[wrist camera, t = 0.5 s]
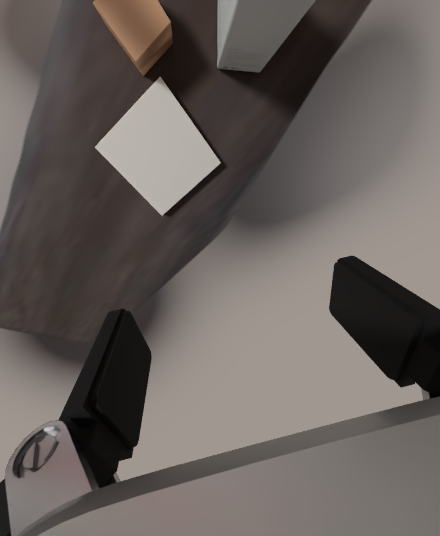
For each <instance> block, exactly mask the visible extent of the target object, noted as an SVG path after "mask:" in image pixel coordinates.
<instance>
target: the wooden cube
mask: <svg viewBox="0 0 440 536" xmlns="http://www.w3.org/2000/svg"><path fill="white" fill-rule="evenodd" d="M93 4H94V6H95V7H96V9H97V11H98V12H99V14H100V16H101V17H102V19H103V20H104V22H105V24H106V25H107V27H108V28H109V30H110V31H111V33H112V34H113V35H114V37H115V38H116V39H117V41H118V42H119V43H120V45H121V46H122V48H123V49H124V50H125V52H126V53H127V54H128V56H129V57H130V58H131V60H132V61H133V63H134V64H135V65H136V67H137V68H138V69H139V71H140V72H141V73H142V75H143V76H144V75H145V74H146V73H147V72H148V70H149V69H150V68H151V67H152V66H153V65H154V64H155V63H156V62H157V60H158V59H159V58H160V57H161V56H162V55H163V54H164V53H165V52H166V51H167V49H168V48H169V47H170V46H171V45H172V44H173V39H172V29H171V21H170V20H169V18H168V16H167V15H166V13H165V12H164V10H163V8H162V7H161V5H160V3H159V2H158V0H95V1H94V2H93Z"/></svg>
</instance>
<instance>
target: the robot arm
mask: <svg viewBox="0 0 440 536" xmlns="http://www.w3.org/2000/svg"><path fill="white" fill-rule="evenodd" d="M329 309H330V312H331V314H332V316H334V318H335V319H336V320H337V321H338V322H339V323H340V324H341V325H342V327H343V328H344V329H345V330H346V331H347V332H348V333H349V335H350V336H351V337H352V338H353V339H354V340H355V341H356V342H357V343H358V345H359V346H360V347H361V348H362V349H363V350H364V351H365V353H366V354H367V355H368V356H369V357H370V358H371V359H372V360H373V361H374V363H375V364H376V365H377V366H378V367H379V368H380V369H381V370H382V372H384V374H385V375H386V376H387V377H388V378H390V379H392V380H394V381H395V382H396V383H397V384H398V385H399V386H400V387H405V386H409V385H413V384H415V382H416V383H417V384H418V385H419V386H420V387H421V389H422V395H423V401H419V402H415V403H411V404H407V405H403V406H399V407H395V408H392V409H388V410H384V411H380V412H377V413H372V414H368V415H365V416H361V417H357V418H353V419H349V420H345V421H341V422H338V423H334V424H330V425H326V426H322V427H319V428H315V429H311V430H308V431H303V432H300V433H296V434H292V435H288V436H285V437H281V438H277V439H273V440H269V441H266V442H262V443H259V444H254V445H251V446H247V447H243V448H239V449H236V450H232V451H229V452H225V453H221V454H217V455H213V456H210V457H206V458H203V459H199V460H195V461H191V462H188V463H184V464H180V465H176V466H173V467H169V468H166V469H162V470H159V471H155V472H152V473H149V474H145V475H142V476H138V477H135V478H131V479H128V480H124V481H120V479H119V478H118V476H117V474H116V471H117V468H118V463H119V461H121V460H125V459H128V458H132V453H133V447H135V446H137V444H138V440H139V434H140V429H141V422H142V416H143V409H144V403H145V396H146V390H147V384H148V376H149V371H150V365H151V351H150V349H149V347H148V345H147V343H146V341H145V339H144V338H143V336H142V334H141V332H140V330H139V328H138V326H137V324H136V322H135V320H134V318H133V316H132V314H131V313H130V311H126V310H125V309H119V310H115V311H110V312H109V313H108V314H107V317H106V319H105V321H104V323H103V325H102V327H101V330H100V332H99V334H98V336H97V338H96V340H95V342H94V345H93V347H92V349H91V351H90V354H89V356H88V358H87V360H86V362H85V364H84V366H83V368H82V371H81V373H80V375H79V377H78V379H77V381H76V384H75V386H74V388H73V390H72V392H71V394H70V396H69V399H68V401H67V403H66V405H65V407H64V409H63V411H62V414H61V416H60V418H59V420H56V421H50V422H47V423H45V424H43V425H41V426H40V427H38V428H37V429H35V430H34V431H33V432H31V433H30V434H29V435H28V436H27V437H26V438H25V439H24V440H23V441H22V442H21V444H20V445H19V446H18V447H17V448H16V450H15V451H14V453H13V454H12V456H11V458H10V459H9V462H8V465H7V467H6V471H5V479H4V480H3V481H2V482H1V483H0V536H440V309H438V308H436V307H435V306H433V305H431V304H430V303H428V302H427V301H425V300H423V299H422V298H420V297H419V296H417V295H416V294H414V293H412V292H411V291H409V290H408V289H406V288H404V287H403V286H401V285H400V284H398V283H396V282H395V281H393V280H392V279H390V278H389V277H387V276H385V275H384V274H382V273H381V272H379V271H377V270H376V269H374V268H373V267H371V266H369V265H368V264H366V263H365V262H363V261H361V260H360V259H358V258H357V257H355V256H348V257H344V258H340V259H338V261H337V263H335V265H334V272H333V280H332V289H331V298H330V305H329Z"/></svg>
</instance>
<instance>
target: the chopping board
mask: <svg viewBox="0 0 440 536" xmlns="http://www.w3.org/2000/svg"><path fill="white" fill-rule="evenodd" d="M95 148H96V149H97V150H98V151H99V152H100V153H101V154H102V155H103V156H104V157H105V158H106V159H107V160H108V161H109V162H110V163H111V164H112V165H113V166H114V167H115V168H116V169H117V170H118V171H119V172H120V173H121V174H122V175H123V177H124V178H125V179H126V180H127V181H128V182H129V183H130V184H131V185H132V186H133V187H134V188H135V189H136V190H137V191H138V192H139V193H140V194H141V195H142V196H143V197H144V198H145V199H146V200H147V201H148V202H149V203H150V204H151V205H152V206H153V207H154V208H155V209H156V210H157V211H158V212H159V213H160V214H161V215H163V214H165V213H166V212H167V211H168V210H169V209H170V208H171V207H172V206H173V205H175V204H176V203H177V202H178V201H179V200H180V199H181V198H182V197H183V196H185V195H186V194H187V193H188V192H189V191H190V190H191V189H192V188H194V187H195V186H196V185H197V184H198V183H199V182H200V181H201V180H202V179H204V178H205V177H206V176H207V175H208V174H209V173H210V172H211V171H212V170H214V169H215V168H216V167H217V166H218V165H219V164H220V163H221V162H220V161H219V159H218V158H217V157H216V155H215V154H214V152H213V151H212V150H211V148H210V147H209V145H208V144H207V142H206V141H205V140H204V138H203V137H202V135H201V134H200V132H199V131H198V130H197V128H196V127H195V125H194V124H193V122H192V121H191V120H190V118H189V117H188V115H187V114H186V112H185V111H184V110H183V108H182V107H181V105H180V104H179V102H178V101H177V100H176V98H175V97H174V95H173V94H172V93H171V91H170V90H169V88H168V87H167V85H166V84H165V83H164V81H163V80H162V78H161V77H159V78H158V79H157V80H156V81H155V83H154V84H153V85H152V86H151V87H150V88H149V89H148V90H147V91H146V92H145V93H144V94H143V95H142V97H141V98H140V99H139V100H138V101H137V102H136V103H135V104H134V105H133V106H132V107H131V108H130V110H129V111H128V112H127V113H126V114H125V115H124V116H123V117H122V118H121V119H120V120H119V121H118V123H117V124H116V125H115V126H114V127H113V128H112V129H111V130H110V131H109V132H108V133H107V134H106V136H105V137H104V138H103V139H102V140H101V141H100V142H99V143H98V144H97V145H96V146H95Z"/></svg>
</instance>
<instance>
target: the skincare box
mask: <svg viewBox="0 0 440 536" xmlns="http://www.w3.org/2000/svg"><path fill="white" fill-rule="evenodd" d="M315 1H316V0H218V34H217V44H218V61H217V68H219V69H228V70H238V71H249V72H261V70H262V69H263V68H264V67H265V65H266V64H267V63H268V61H269V60H270V59H271V57H272V56H273V55H274V54H275V52H276V51H277V50H278V48H279V47H280V46H281V45H282V43H283V42H284V41H285V39H286V38H287V37H288V35H289V34H290V33H291V32H292V30H293V29H294V28H295V26H296V25H297V24H298V22H299V21H300V20H301V19H302V17H303V16H304V15H305V13H306V12H307V11H308V10H309V8H310V7H311V6H312V5H313V3H314V2H315Z"/></svg>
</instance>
